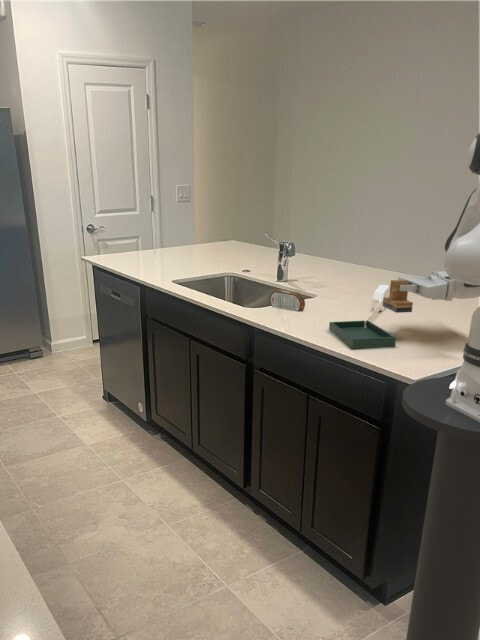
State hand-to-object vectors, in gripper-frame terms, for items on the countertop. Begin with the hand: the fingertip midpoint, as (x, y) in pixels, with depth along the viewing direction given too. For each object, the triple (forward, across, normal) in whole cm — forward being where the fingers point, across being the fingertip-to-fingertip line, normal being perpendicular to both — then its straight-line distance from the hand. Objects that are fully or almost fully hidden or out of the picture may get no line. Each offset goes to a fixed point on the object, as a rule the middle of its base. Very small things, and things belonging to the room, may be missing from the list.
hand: (396, 287), depth 171 cm
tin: (+23, -42, +17) cm, 51 cm away
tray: (+9, -2, +17) cm, 19 cm away
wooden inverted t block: (-1, 0, +7) cm, 7 cm away
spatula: (-5, -26, +16) cm, 31 cm away
